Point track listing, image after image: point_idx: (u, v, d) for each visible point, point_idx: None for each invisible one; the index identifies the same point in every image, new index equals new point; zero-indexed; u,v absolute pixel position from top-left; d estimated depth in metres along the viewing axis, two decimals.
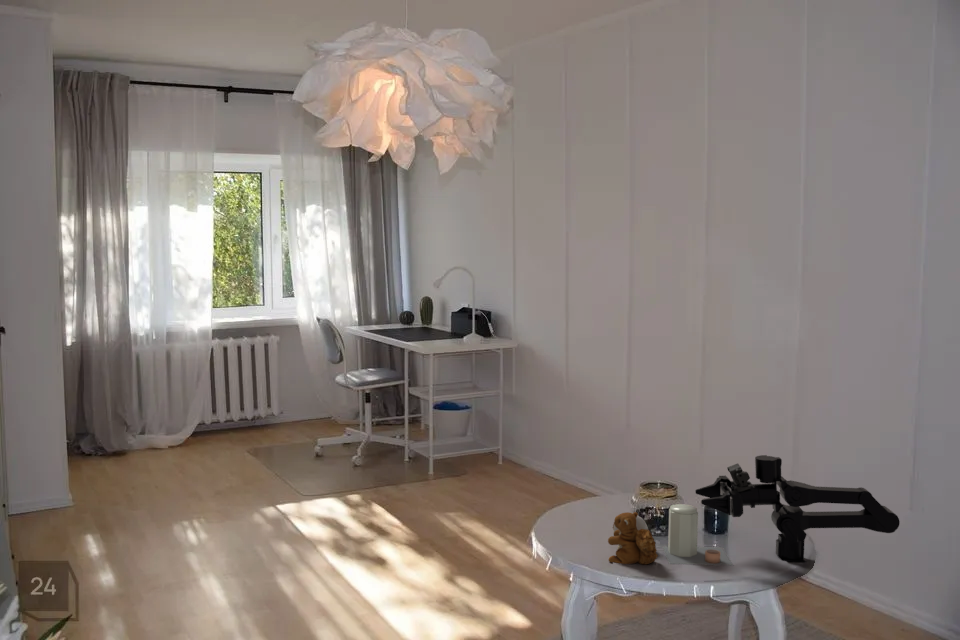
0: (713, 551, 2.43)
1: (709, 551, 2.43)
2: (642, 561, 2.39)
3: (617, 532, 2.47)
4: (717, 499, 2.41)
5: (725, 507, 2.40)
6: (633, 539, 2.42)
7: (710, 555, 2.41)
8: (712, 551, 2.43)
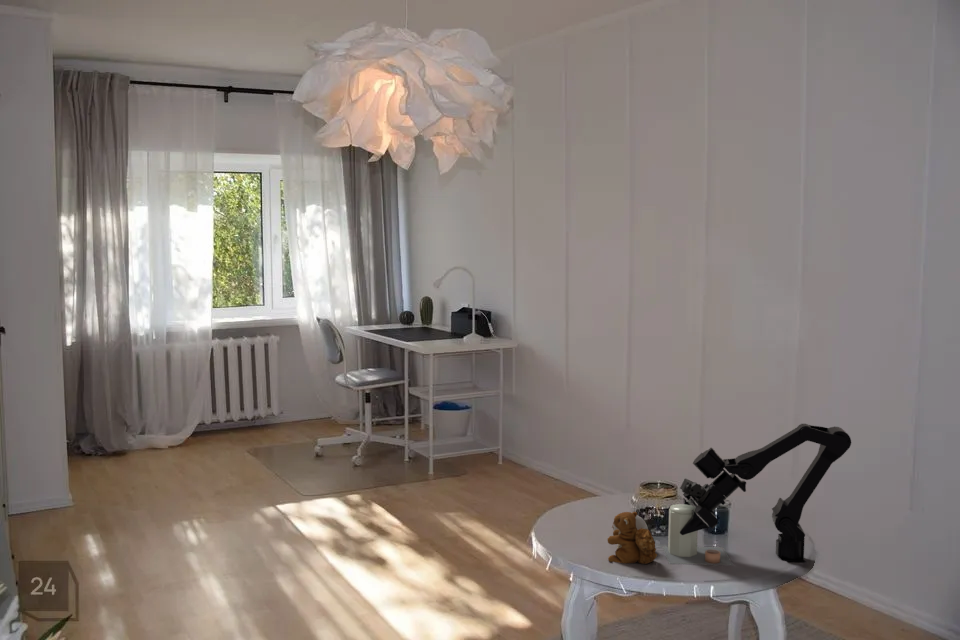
0: (713, 551, 2.43)
1: (709, 551, 2.43)
2: (642, 560, 2.40)
3: (616, 531, 2.47)
4: (690, 522, 2.44)
5: (701, 523, 2.43)
6: (633, 538, 2.42)
7: (710, 555, 2.41)
8: (712, 551, 2.43)
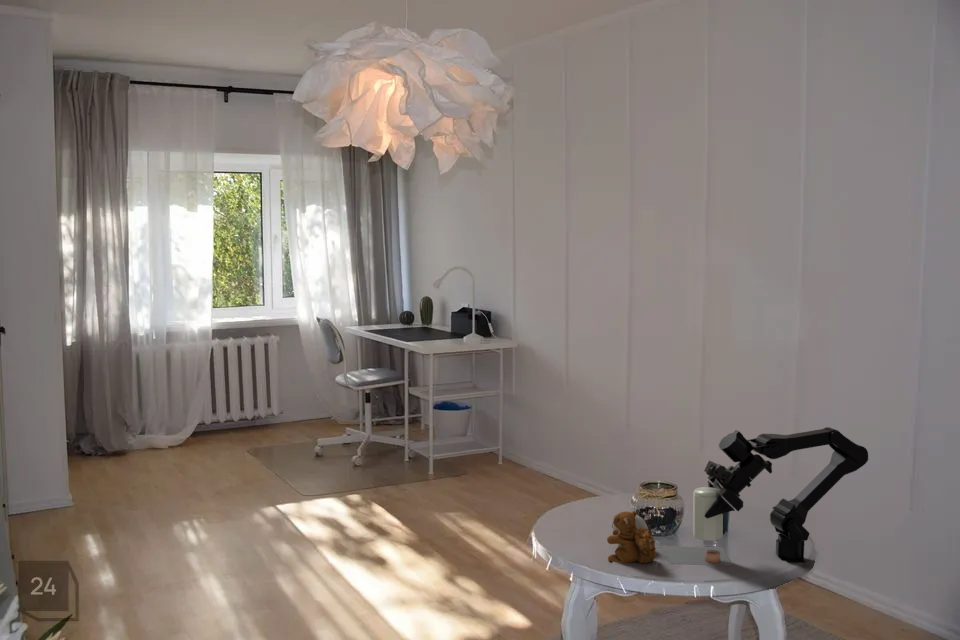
0: (713, 551, 2.43)
1: (709, 551, 2.43)
2: (641, 560, 2.40)
3: (616, 531, 2.47)
4: (715, 505, 2.38)
5: (726, 506, 2.38)
6: (632, 538, 2.43)
7: (710, 555, 2.41)
8: (712, 551, 2.43)
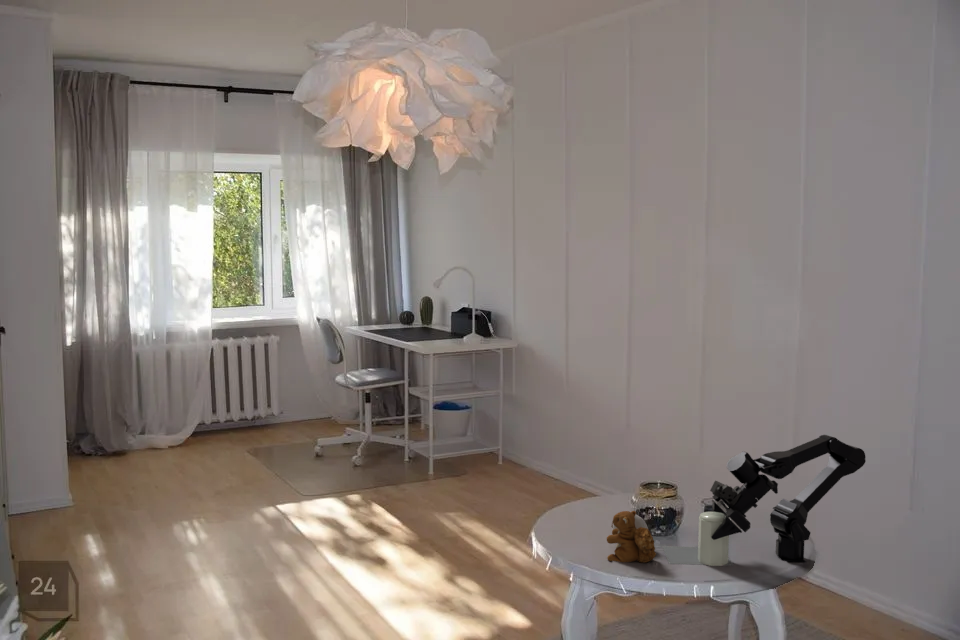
0: None
1: None
2: (641, 559, 2.41)
3: (615, 531, 2.48)
4: (722, 527, 2.36)
5: (733, 528, 2.36)
6: (632, 537, 2.43)
7: None
8: None
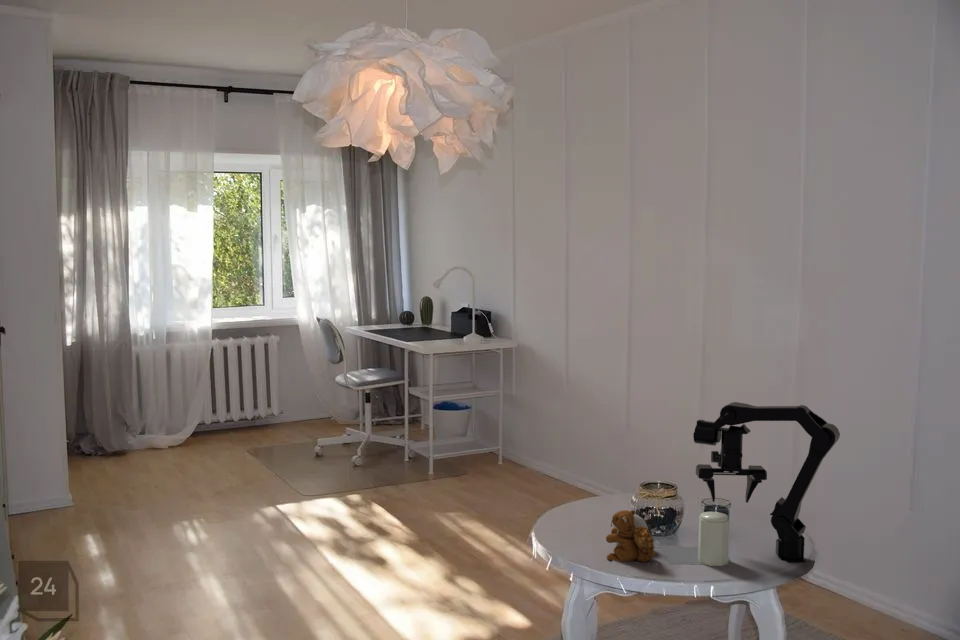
0: None
1: None
2: (640, 558, 2.42)
3: (615, 530, 2.48)
4: (708, 486, 2.55)
5: None
6: (631, 537, 2.44)
7: None
8: None
